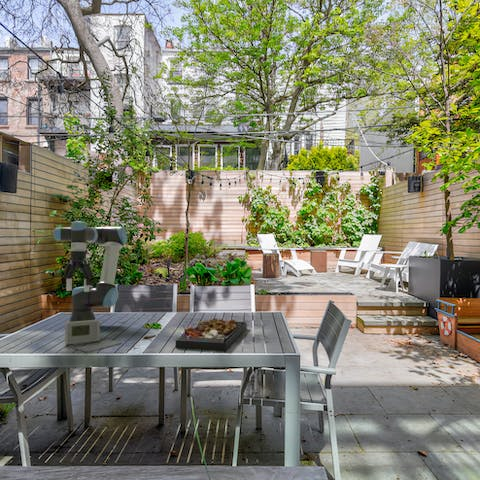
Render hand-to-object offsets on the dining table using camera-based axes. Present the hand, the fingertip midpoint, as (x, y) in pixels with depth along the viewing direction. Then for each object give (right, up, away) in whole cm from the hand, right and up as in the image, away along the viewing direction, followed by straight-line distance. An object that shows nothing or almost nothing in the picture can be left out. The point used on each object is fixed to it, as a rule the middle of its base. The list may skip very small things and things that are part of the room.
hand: (77, 291), depth 193 cm
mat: (+17, -24, -16) cm, 34 cm away
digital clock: (+7, -25, -9) cm, 27 cm away
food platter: (+72, -25, -1) cm, 76 cm away
